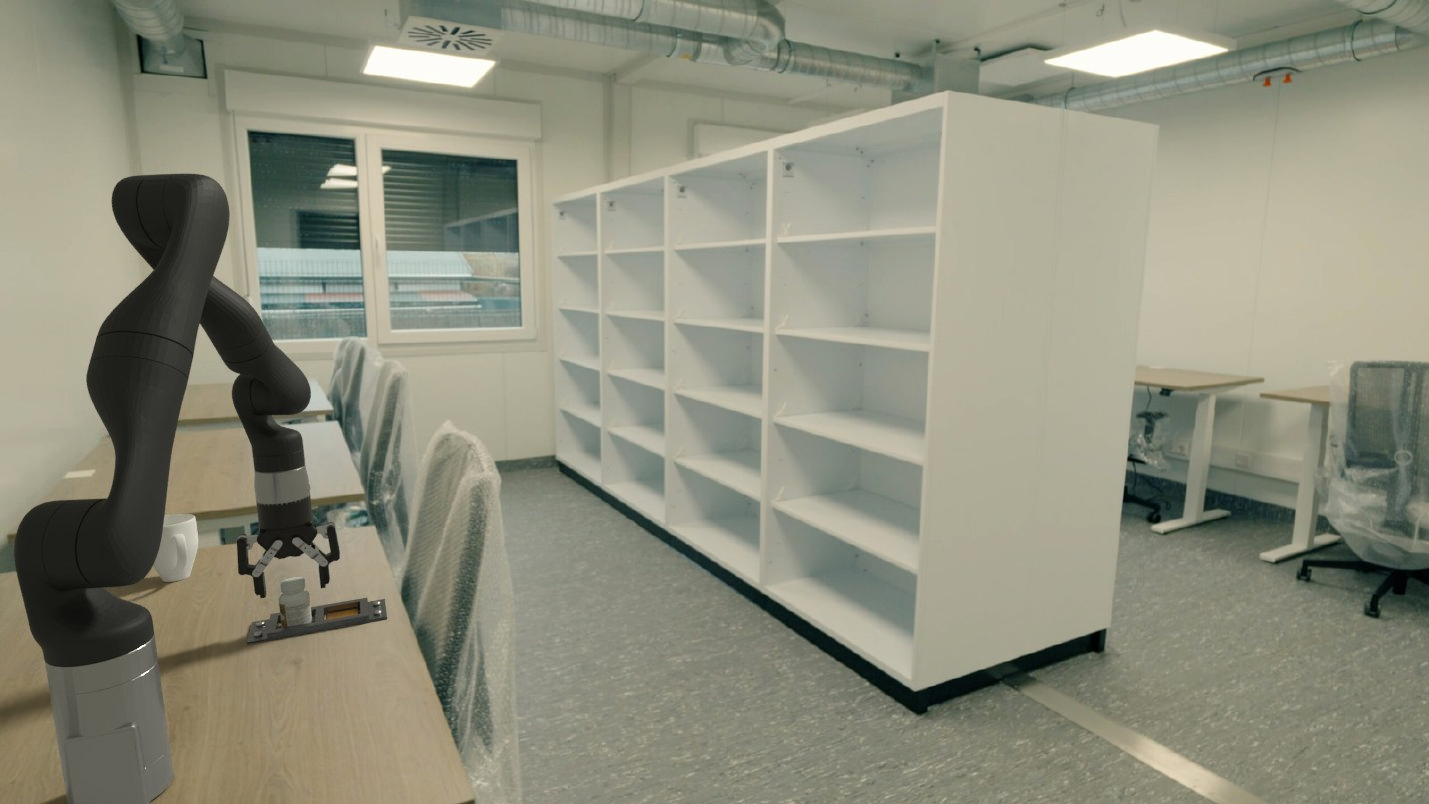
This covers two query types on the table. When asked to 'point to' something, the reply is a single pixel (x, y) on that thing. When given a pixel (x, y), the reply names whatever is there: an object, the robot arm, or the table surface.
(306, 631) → the metal frame plate
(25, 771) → the table surface
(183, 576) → the mug
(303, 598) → the pill bottle
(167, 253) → the robot arm
